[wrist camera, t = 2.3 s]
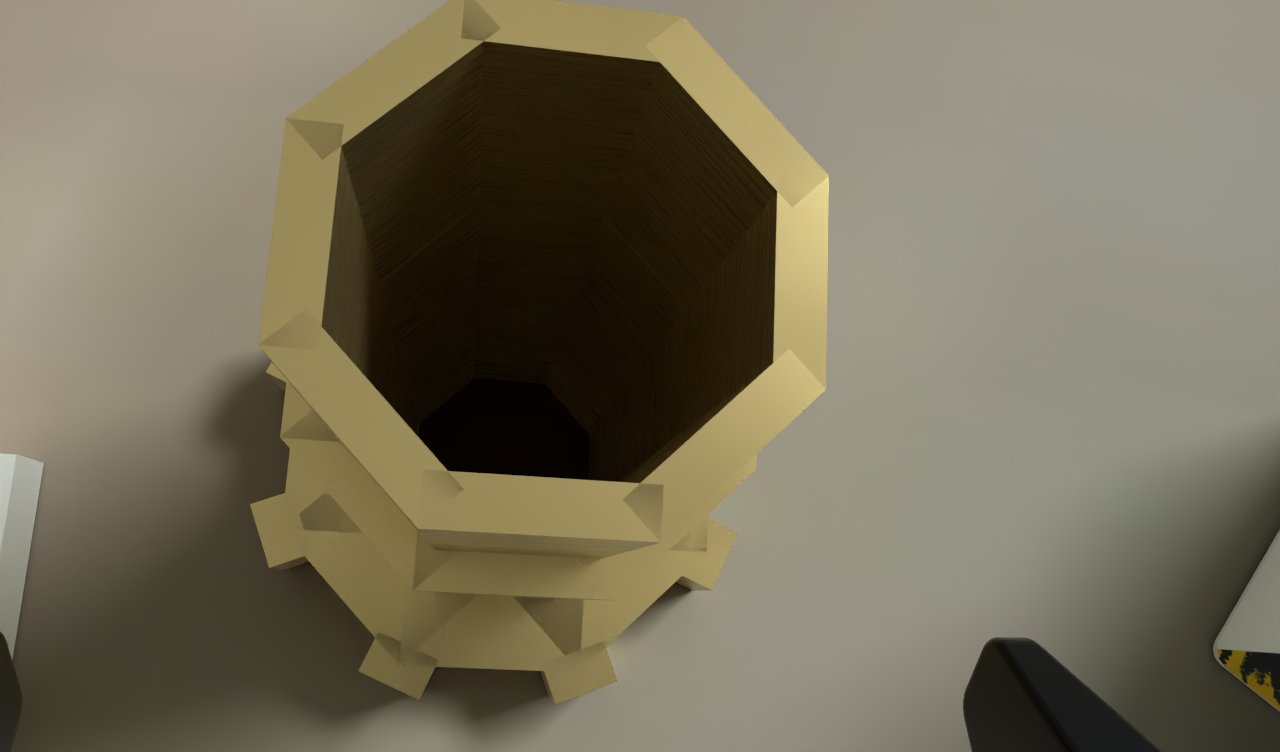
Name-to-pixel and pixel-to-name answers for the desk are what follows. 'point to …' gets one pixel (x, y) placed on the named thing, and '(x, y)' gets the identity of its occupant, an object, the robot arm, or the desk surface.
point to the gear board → (15, 535)
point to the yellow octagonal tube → (533, 326)
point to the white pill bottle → (1256, 631)
